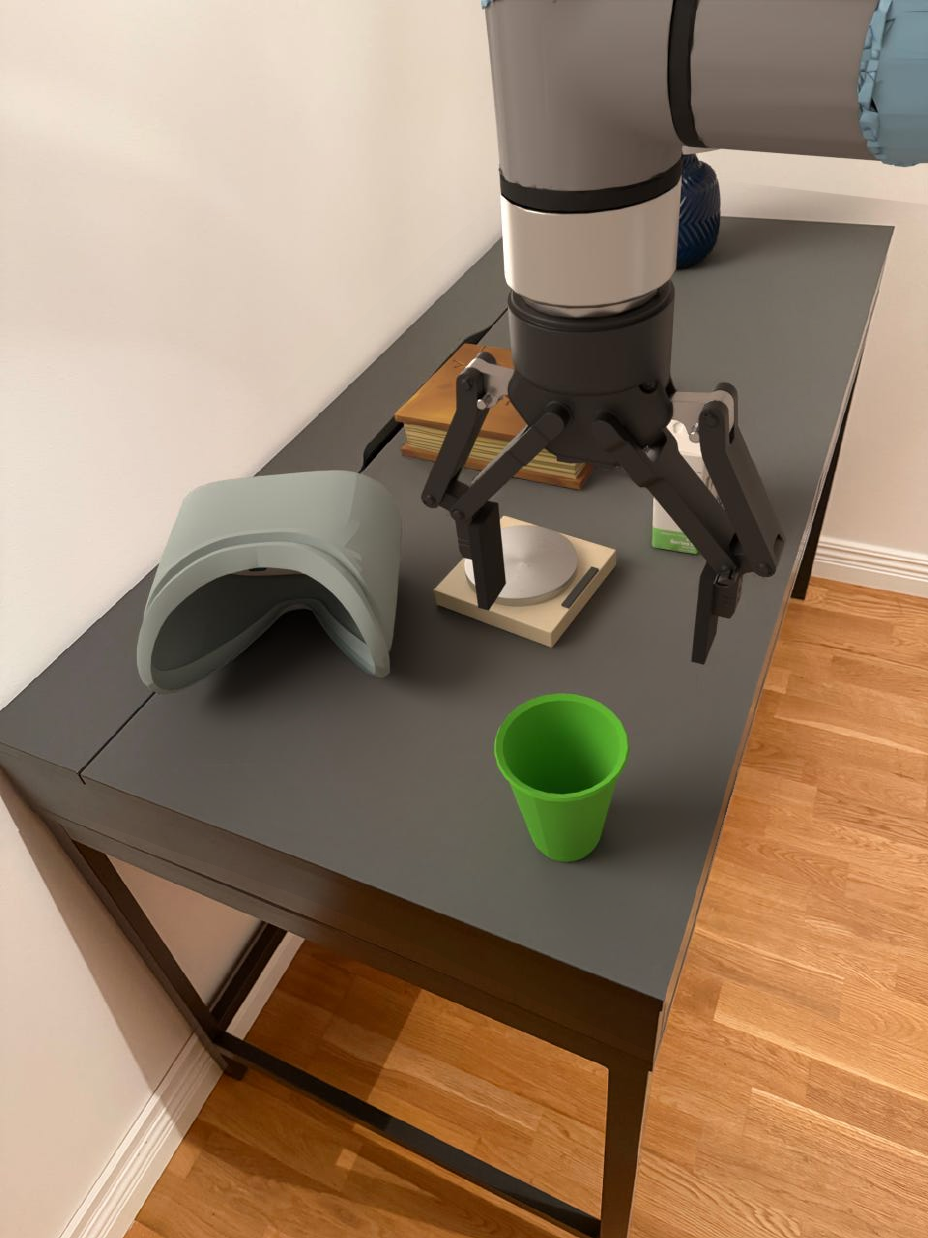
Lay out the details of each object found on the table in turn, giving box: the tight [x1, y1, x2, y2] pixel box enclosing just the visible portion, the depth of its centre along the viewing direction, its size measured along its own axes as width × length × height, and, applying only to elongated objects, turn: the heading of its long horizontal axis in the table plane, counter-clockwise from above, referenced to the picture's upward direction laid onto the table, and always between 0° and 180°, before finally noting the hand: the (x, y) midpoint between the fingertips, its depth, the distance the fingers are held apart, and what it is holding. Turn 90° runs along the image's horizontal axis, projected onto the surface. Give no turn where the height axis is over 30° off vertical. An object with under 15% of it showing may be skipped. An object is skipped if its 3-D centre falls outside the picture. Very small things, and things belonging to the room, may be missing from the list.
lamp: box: [676, 146, 722, 269], centre depth 127 cm, size 20×20×37 cm
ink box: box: [651, 420, 719, 555], centre depth 88 cm, size 9×5×12 cm, turn 156°
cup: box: [493, 692, 630, 863], centre depth 64 cm, size 9×9×11 cm
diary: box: [394, 343, 596, 490], centre depth 107 cm, size 23×19×6 cm
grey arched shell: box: [136, 469, 403, 695], centre depth 82 cm, size 22×19×13 cm
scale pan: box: [464, 525, 578, 606], centre depth 87 cm, size 11×11×1 cm
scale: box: [433, 515, 617, 649], centre depth 88 cm, size 13×13×2 cm
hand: (593, 620), depth 55 cm, fingers open, 13 cm apart
